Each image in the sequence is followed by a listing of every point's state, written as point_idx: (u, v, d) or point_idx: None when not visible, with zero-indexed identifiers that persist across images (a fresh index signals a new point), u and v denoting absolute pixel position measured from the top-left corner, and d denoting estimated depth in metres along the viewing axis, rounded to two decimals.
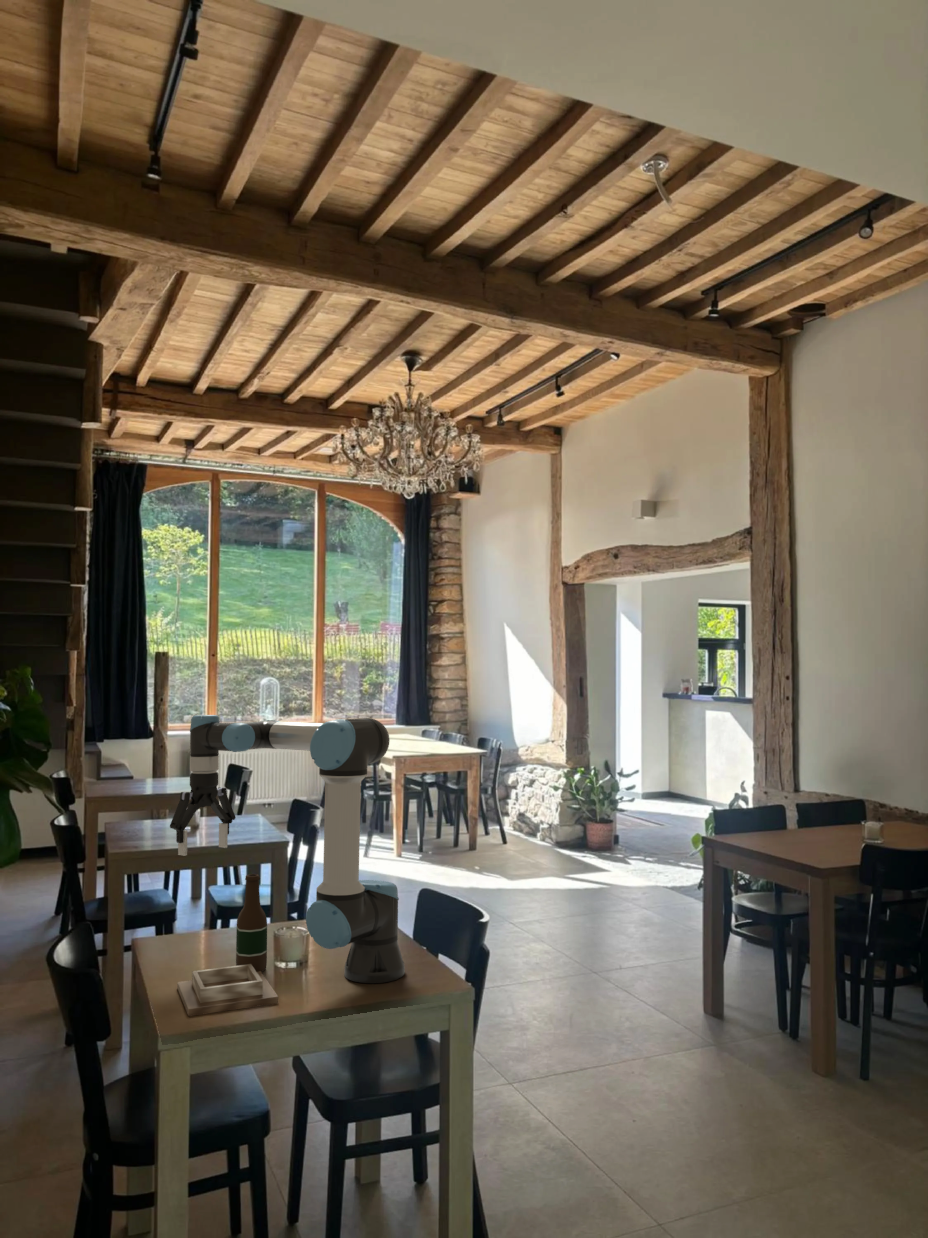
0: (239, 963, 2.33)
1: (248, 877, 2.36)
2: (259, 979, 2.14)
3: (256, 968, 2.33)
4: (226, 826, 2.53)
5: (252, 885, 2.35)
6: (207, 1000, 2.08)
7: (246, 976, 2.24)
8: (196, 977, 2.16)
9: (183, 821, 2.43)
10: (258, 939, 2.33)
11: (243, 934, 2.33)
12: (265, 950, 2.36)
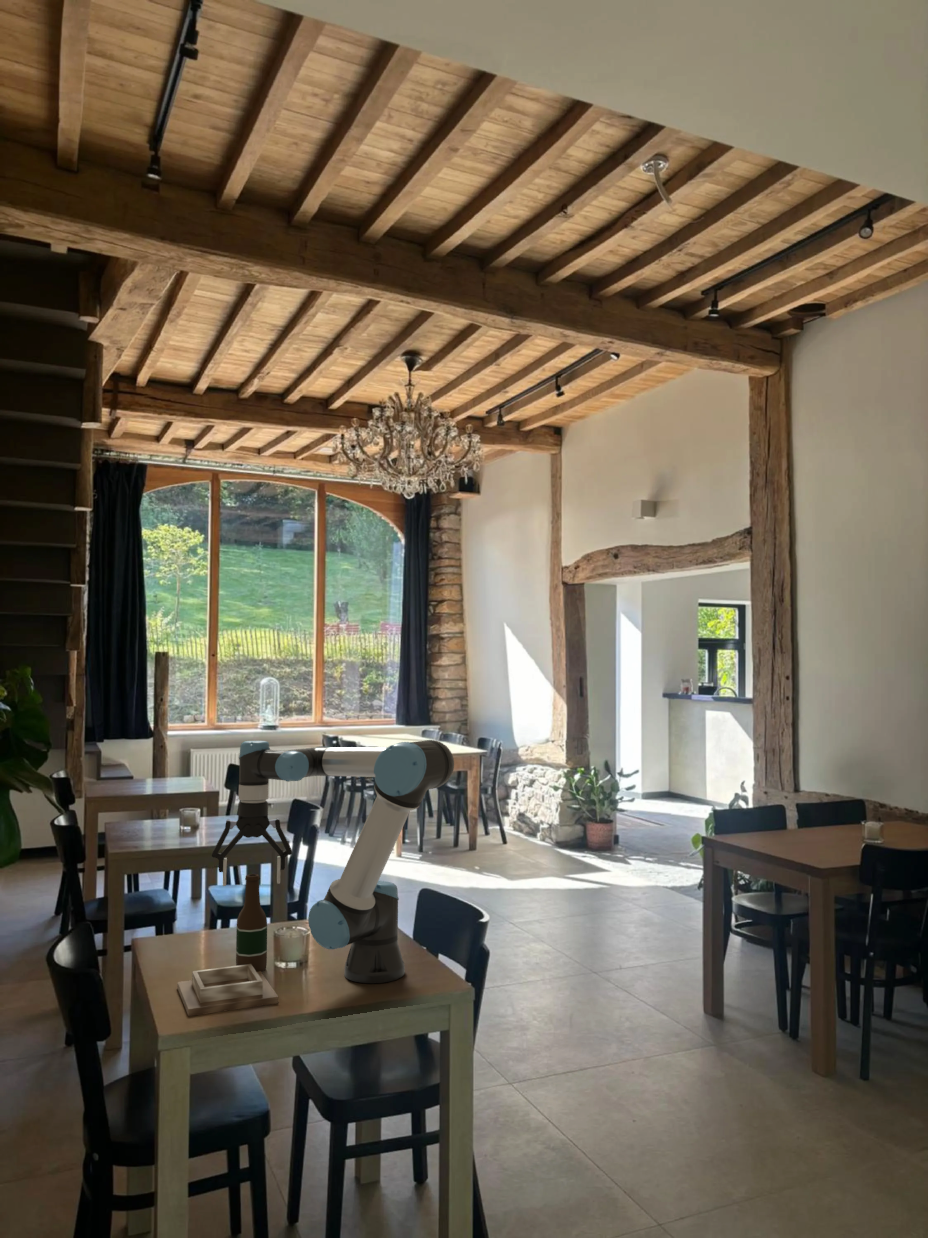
0: (239, 963, 2.33)
1: (248, 877, 2.36)
2: (259, 979, 2.14)
3: (256, 968, 2.33)
4: (278, 861, 2.38)
5: (252, 885, 2.36)
6: (207, 1000, 2.08)
7: (246, 976, 2.24)
8: (196, 977, 2.16)
9: (224, 850, 2.36)
10: (258, 939, 2.33)
11: (243, 934, 2.33)
12: (265, 950, 2.36)
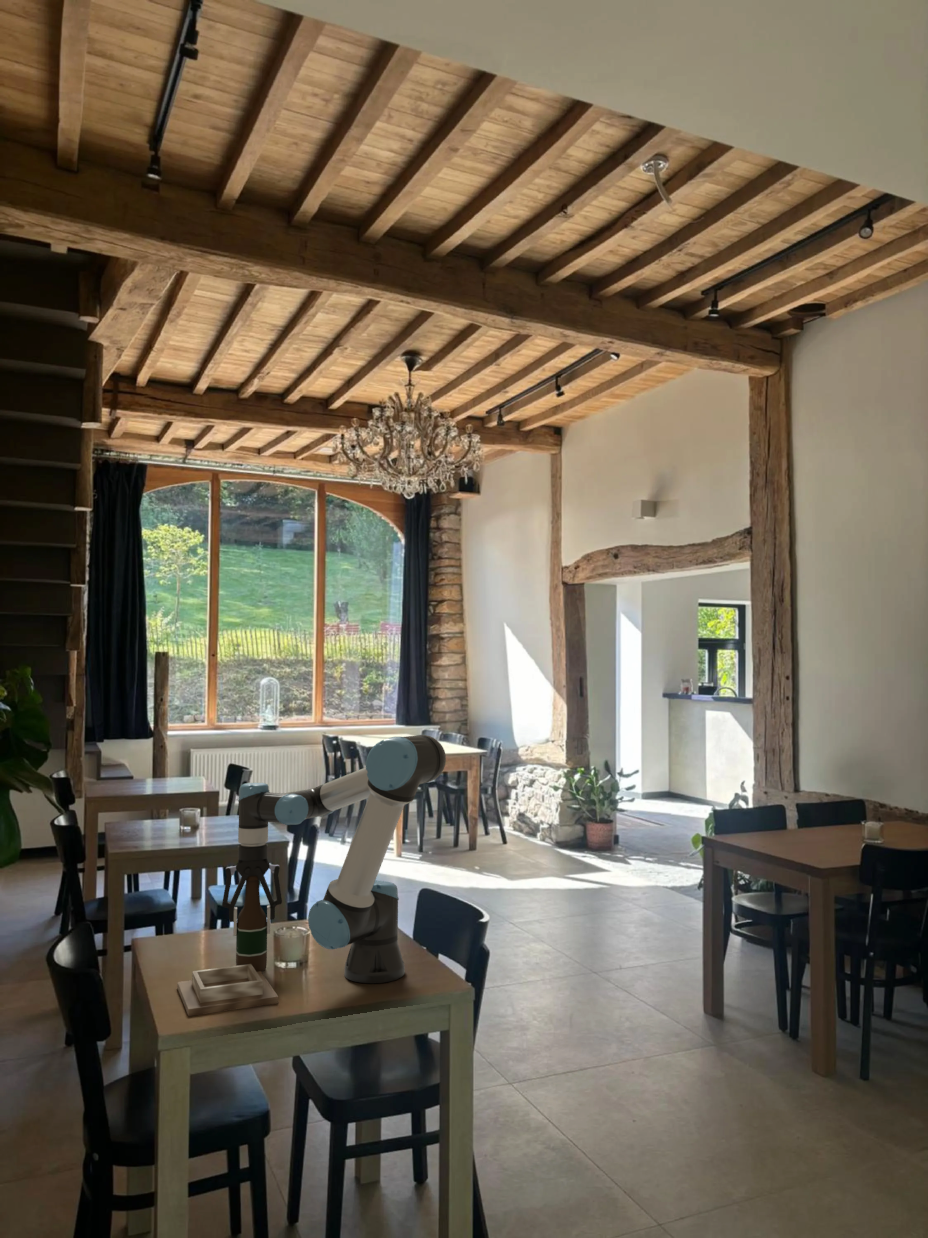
0: (239, 963, 2.33)
1: (248, 877, 2.36)
2: (259, 979, 2.14)
3: (256, 968, 2.33)
4: (268, 910, 2.36)
5: (252, 885, 2.36)
6: (207, 1000, 2.08)
7: (246, 976, 2.24)
8: (196, 977, 2.16)
9: (232, 899, 2.35)
10: (258, 939, 2.33)
11: (243, 933, 2.33)
12: (265, 950, 2.36)
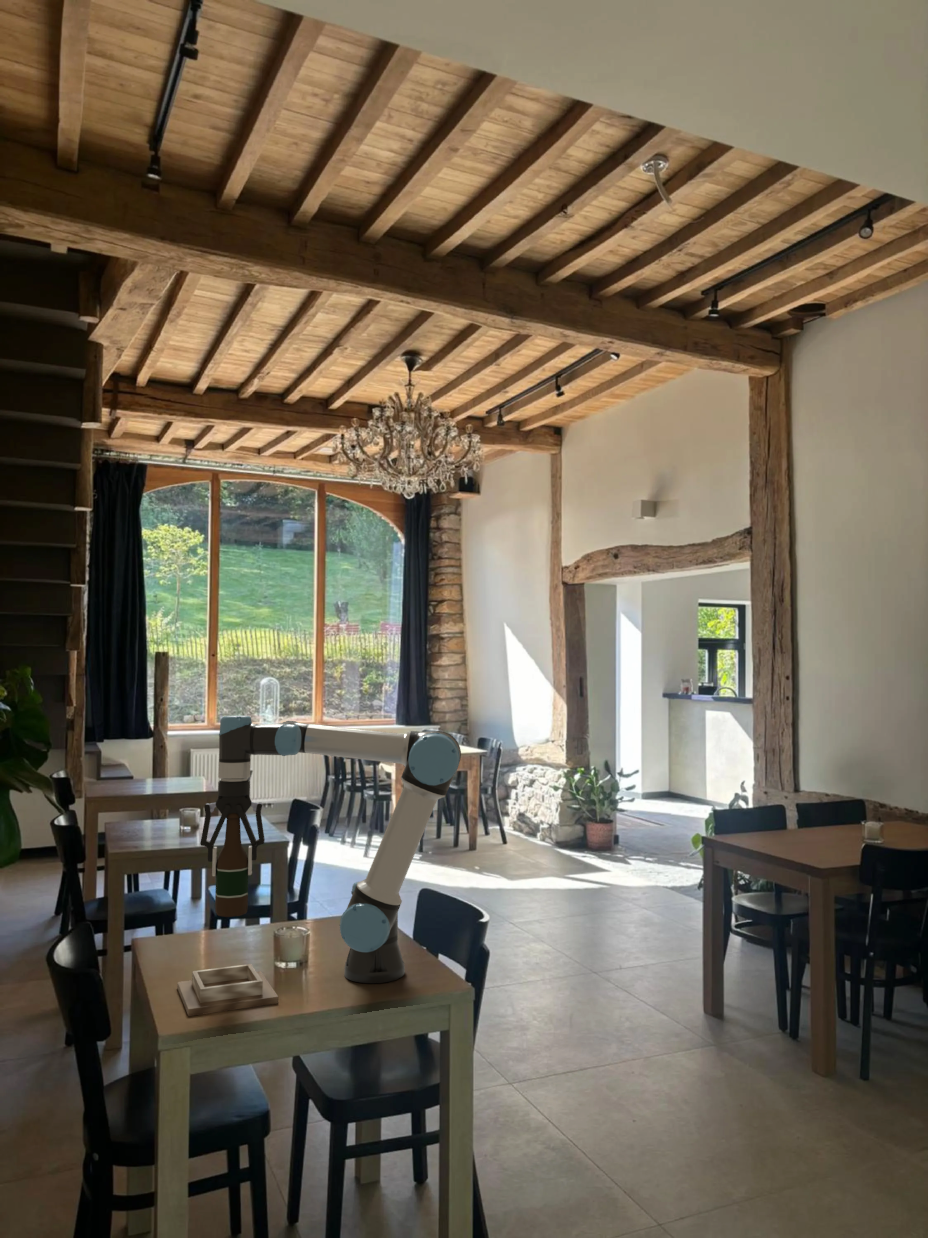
0: (218, 905, 2.19)
1: None
2: (259, 979, 2.14)
3: (235, 910, 2.18)
4: (250, 850, 2.22)
5: (232, 823, 2.21)
6: (207, 1000, 2.08)
7: (246, 976, 2.24)
8: (196, 977, 2.16)
9: None
10: (238, 880, 2.19)
11: (222, 874, 2.19)
12: (246, 892, 2.21)
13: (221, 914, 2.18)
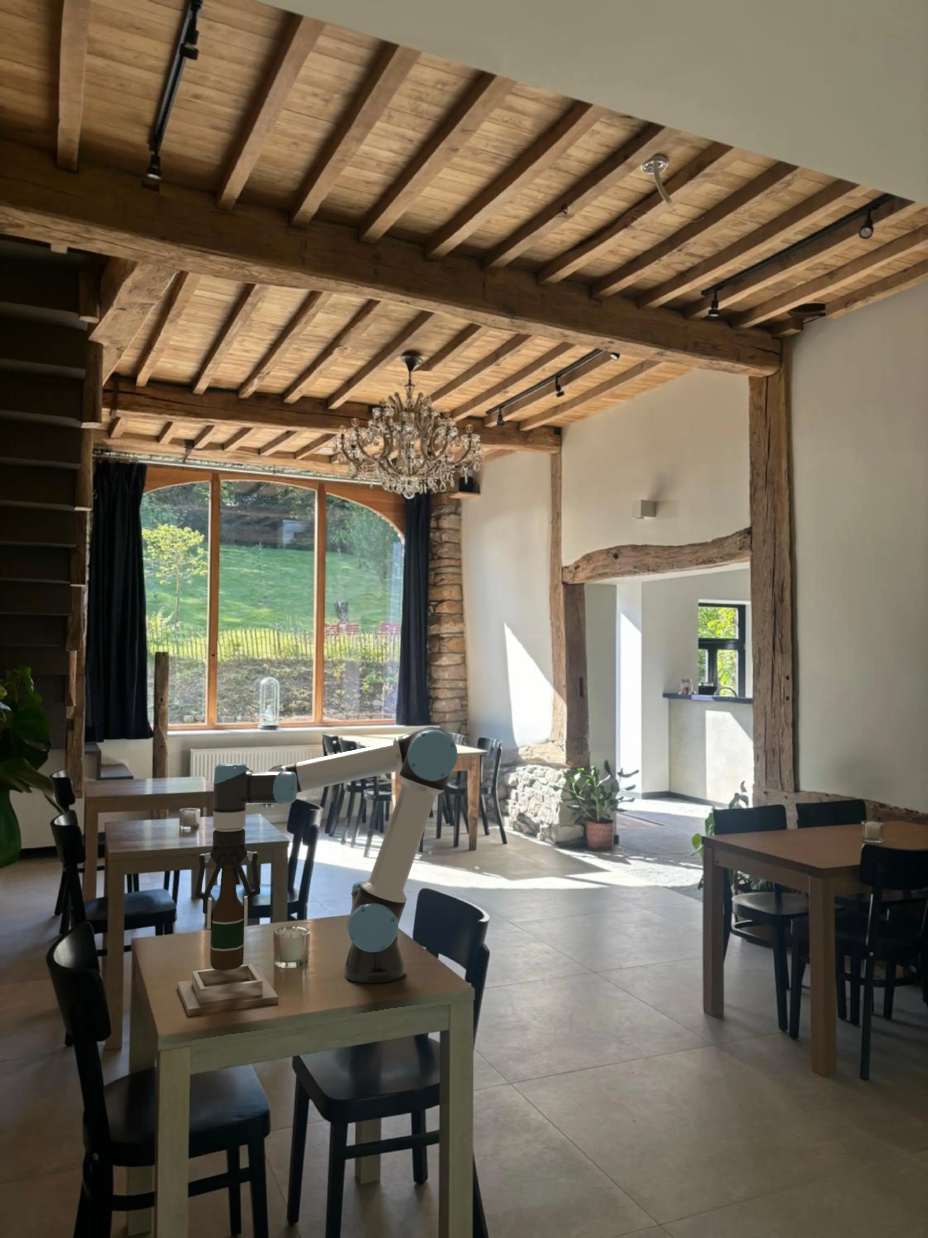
0: (213, 958, 2.14)
1: (223, 865, 2.17)
2: (259, 979, 2.14)
3: (232, 964, 2.14)
4: (245, 901, 2.17)
5: (228, 873, 2.17)
6: (207, 1000, 2.08)
7: (246, 976, 2.24)
8: (196, 977, 2.16)
9: (206, 889, 2.16)
10: (234, 932, 2.15)
11: (218, 926, 2.14)
12: (242, 944, 2.17)
13: (217, 967, 2.14)
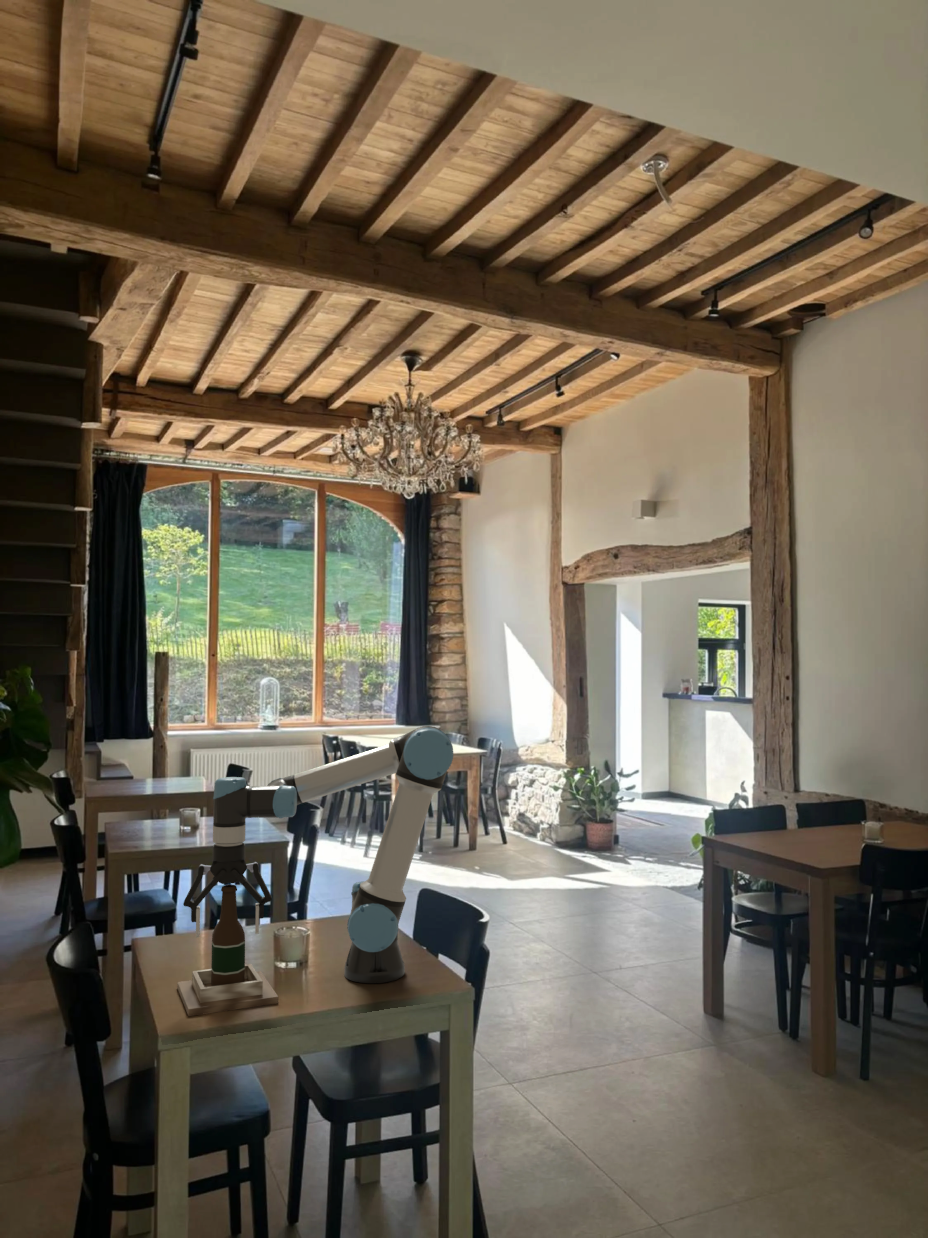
0: (214, 982, 2.14)
1: (224, 888, 2.17)
2: (259, 979, 2.14)
3: None
4: (257, 908, 2.18)
5: (228, 897, 2.16)
6: (207, 1000, 2.08)
7: (246, 976, 2.24)
8: (196, 977, 2.16)
9: (196, 898, 2.16)
10: (234, 956, 2.14)
11: (218, 950, 2.14)
12: (243, 967, 2.17)
13: None
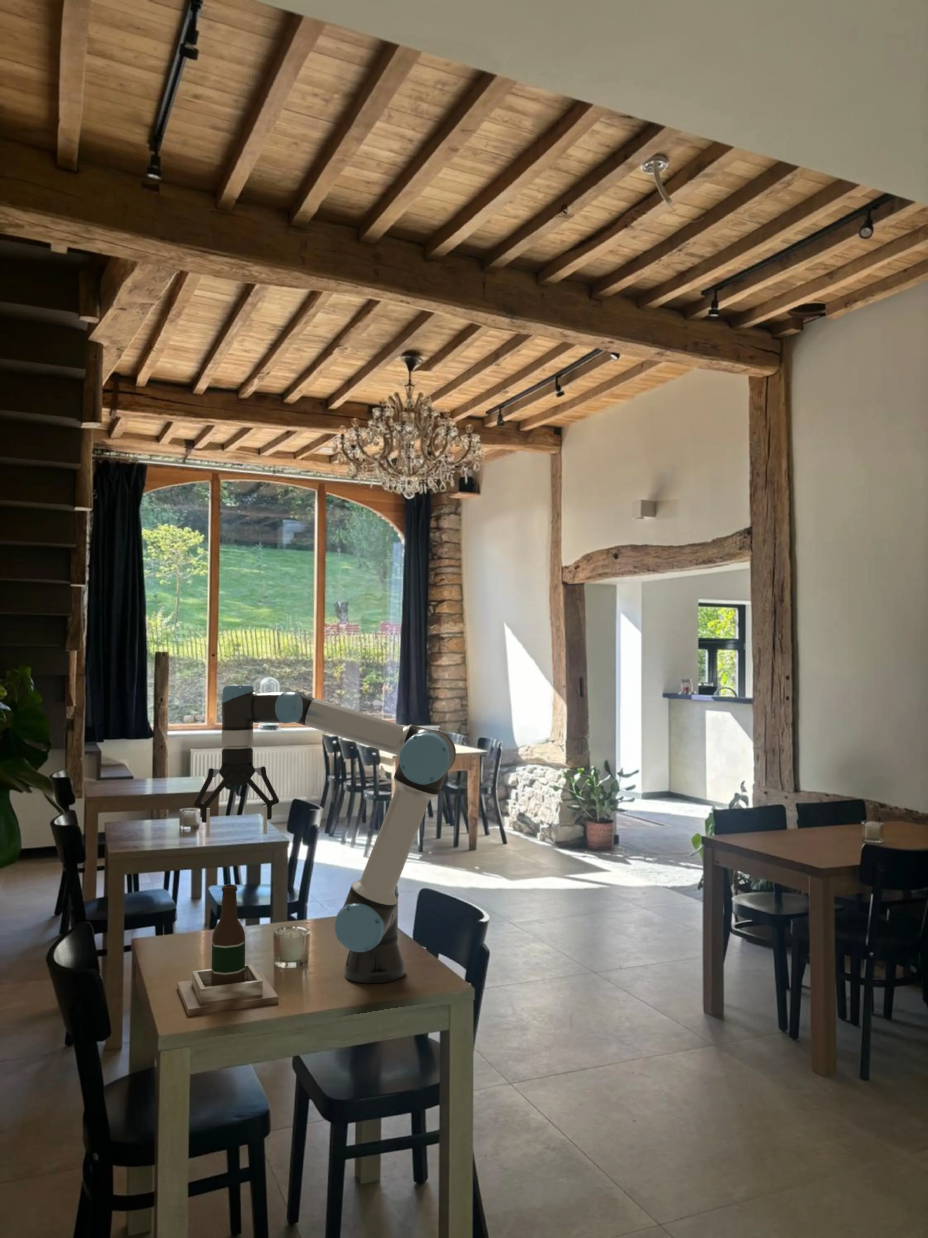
0: (214, 982, 2.14)
1: (224, 888, 2.17)
2: (259, 979, 2.14)
3: None
4: (265, 810, 2.26)
5: (229, 897, 2.17)
6: (207, 1000, 2.08)
7: (246, 976, 2.24)
8: (196, 977, 2.16)
9: (206, 799, 2.23)
10: (235, 956, 2.14)
11: (218, 950, 2.14)
12: (243, 967, 2.17)
13: None
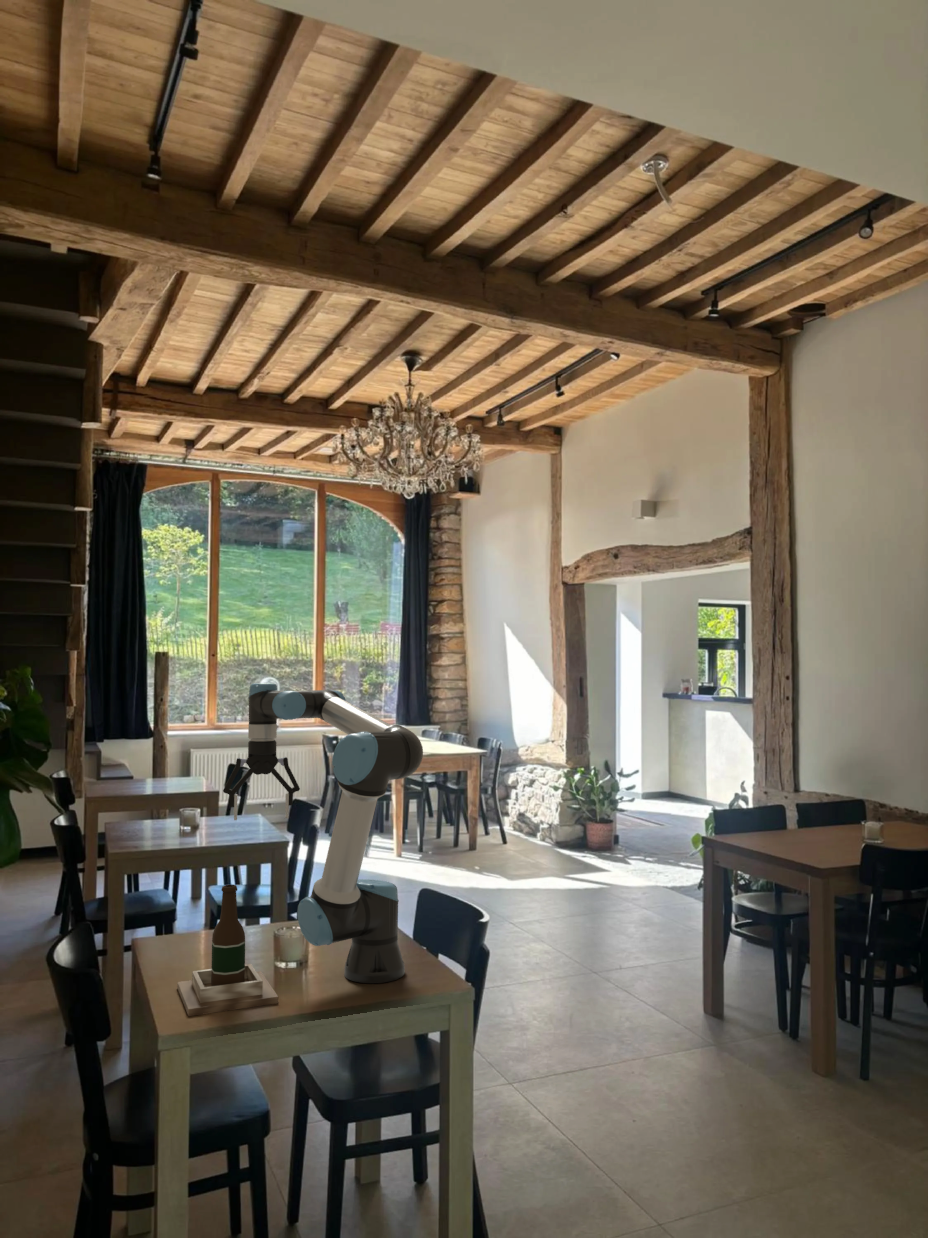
0: (214, 982, 2.14)
1: (224, 888, 2.17)
2: (259, 979, 2.14)
3: None
4: (287, 796, 2.49)
5: (229, 897, 2.17)
6: (207, 1000, 2.08)
7: (246, 976, 2.24)
8: (196, 977, 2.16)
9: (234, 786, 2.47)
10: (234, 956, 2.14)
11: (218, 950, 2.14)
12: (243, 967, 2.17)
13: None
